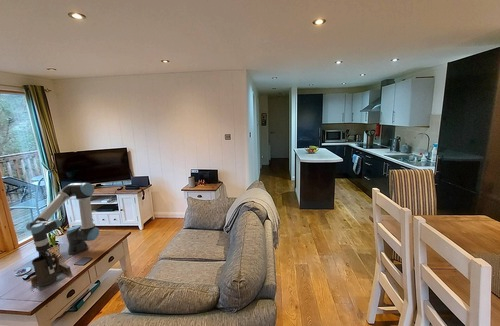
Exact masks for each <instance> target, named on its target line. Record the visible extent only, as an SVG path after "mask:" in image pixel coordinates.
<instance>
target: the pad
mask: <svg viewBox="0 0 500 326" xmlns="http://www.w3.org/2000/svg"><path fill="white" fill-rule="evenodd" d="M55 275H56V277H57V279H56V280H55V281H54V282H52V283H50V284H48V285H45V286H39V285H38V283H36V284H34V285H33V287H35V288H36V289H38V291H40V292H42V291H44V290H45V289H48V288H50V287H51V286H53V285H55V284H57V283H58V281H59V282H60V281H62V280H64V279H66V278H67V277H68V276H69V275H68V274H66V273H64V272H62V271H60V272H58V273H56V274H55ZM56 282H57V283H56Z"/></svg>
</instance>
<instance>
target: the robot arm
mask: <svg viewBox="0 0 500 326" xmlns="http://www.w3.org/2000/svg"><path fill="white" fill-rule="evenodd" d="M94 192H95V188H94V185H93V184H91V182H72V183H69V184H67V185H65V186H64V187H63V188H62V189H61V190H59V191H58V192H57V196H55V198H54V199H52V201H51V202H50V203H49V204H48V205H47V206H46V207H45V209H44V210H42V211H41V213H40V214H39V215H38V216H37V217H36V218H35V219H34V220H30V221H28V222H27V223H26V226H25V228H26V230H27V231H29V232H31V236H32V238H33V245H34V246H35V251H36V252H38V257H40V256H41V260H43V259H44V258H46V262H47V264H48V266H47V267H48V269H49V273H50V274H52V273H54V268H53V266H54V265H55V262H54V260H53V258H52V257H51V256H52V254H51V252H50V251H49V250H48V249H50V247H51V246H50V245H51V244H50V242H49V238H48V234H49V233H51V232H53V231H55V230H57V229H59V228H60V227H61V226H62V222H61V219H59V218H53V219H51V218H52V217H53V216H54V215H56V213H57V211H59V209H60V208H61V207H62V206H63V205H64V204H65V202H66V201H67V200H70V198H72V197H73V196H74V197H75V200H78V207H79V214H80V221H81V224H80V225H79V224H78V225H74V226H71V227H69V228H68V229H66V231H65V232H66V233H65V235H66V238H67V242H68V243H67V244H68V248H67V253H68V255H70V256H72V255H77V254H81V253H82V252H85V251H87V249H89V245H88V244H87V242H91V241H95V240H96V239H97V238H98V236H99V235H100V228H98V227H96V224H95V223H94V220H93V212H92V204H91V198H92V197H93V194H94ZM45 256H46V257H45Z"/></svg>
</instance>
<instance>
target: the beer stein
mask: <svg viewBox="0 0 500 326" xmlns="http://www.w3.org/2000/svg"><path fill="white" fill-rule="evenodd" d="M45 257H46V256H45ZM51 257H52V259H54V261H55V262H54V263H55V265H56V267H55V270H54V273H52V274H50V273H49V269H48V267H47V266H48V264H47V262H46V258H44V259H43V260H41V256H40V257H39V256H38V257H35V258H34V259H33V260H32V261H31V265H32V266H33V269H34V273H35V275H36V277H37V282H38V283H37V284H38V285H39V286H45V285H48V284H50V283H52V282H54V281H55V280H56V279H57V277H56V275H55V273H56V272H57V271H59V270H60V269H59V268H58V265H59V263H60V258H58V256H57V254H56V253H52V254H51ZM53 268H54V267H53ZM56 274H57V273H56Z"/></svg>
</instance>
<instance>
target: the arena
mask: <svg viewBox="0 0 500 326" xmlns="http://www.w3.org/2000/svg"><path fill="white" fill-rule="evenodd" d="M53 267H54V270H55V267H56V264H54V265H53ZM58 268H59V269H60V270H59V271H57V272H56V273H55V274H57V273H59V272H62V273H63V274H65V275H67V276H69V275H71V274H72V270H71V266H69V265H67V264H65V263H64V262H62V261H61V262H59V265H58ZM29 280H30V283H31V285H32V286H34V285H36V284H38V282H37V277H36V274H34V275H31V276H30V277H29Z"/></svg>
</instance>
